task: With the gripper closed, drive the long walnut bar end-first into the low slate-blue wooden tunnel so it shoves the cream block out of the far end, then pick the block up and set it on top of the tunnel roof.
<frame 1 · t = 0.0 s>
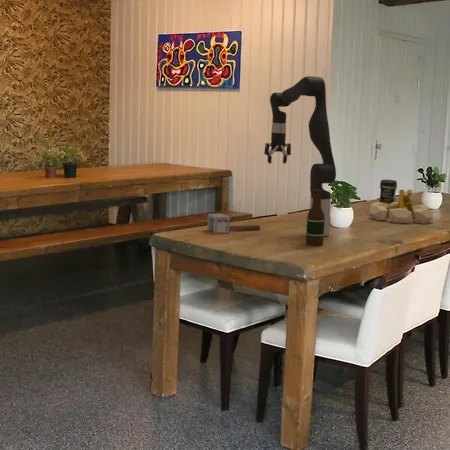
hand: (277, 163, 355), 29 cm above the table, tool pointing down, fingers open, 8 cm apart
campfire: (399, 219, 375), on the table
beer bottle: (314, 244, 296), on the table
coffee jar: (386, 211, 404), on the table
bar: (242, 231, 323), on the table
block: (219, 231, 318), on the table
tunnel: (218, 231, 318), on the table
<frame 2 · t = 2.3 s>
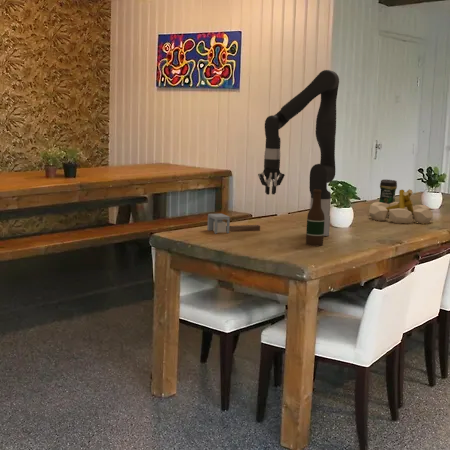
hand: (270, 194, 325), 17 cm above the table, tool pointing down, fingers closed
nothing on the table moved.
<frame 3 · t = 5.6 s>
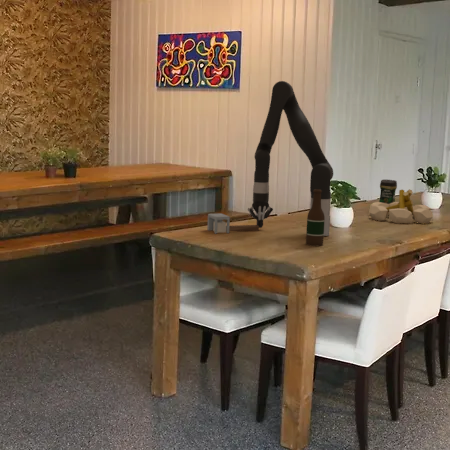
hand: (259, 227, 326), 1 cm above the table, tool pointing down, fingers closed
bar: (240, 231, 322), on the table, touching block, gripper
block: (219, 231, 318), on the table, touching bar
everything else where it was.
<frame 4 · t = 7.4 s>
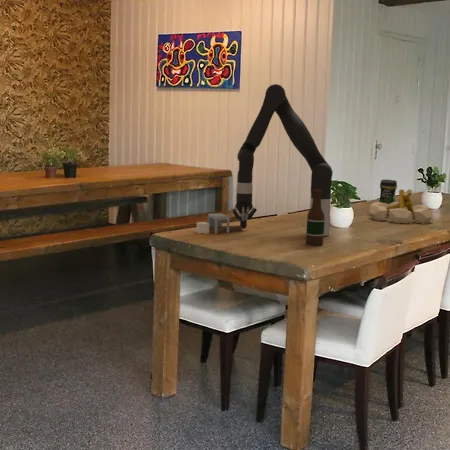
hand: (243, 228, 323), 1 cm above the table, tool pointing down, fingers closed
bar: (224, 232, 318), on the table, touching gripper
block: (202, 232, 314), on the table
everything else where it was.
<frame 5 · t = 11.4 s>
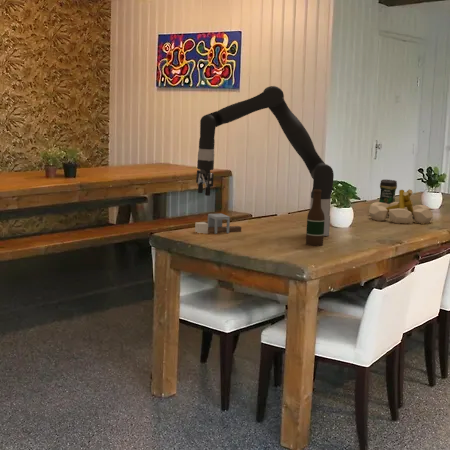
hand: (203, 194, 313), 18 cm above the table, tool pointing down, fingers open, 8 cm apart
bar: (223, 232, 318), on the table
everything else where it was.
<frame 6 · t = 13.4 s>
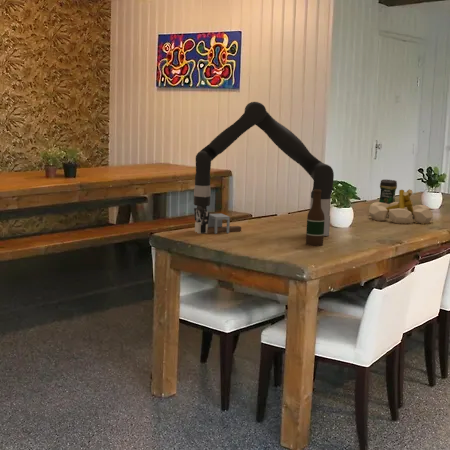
hand: (201, 231, 314), 0 cm above the table, tool pointing down, fingers closed on block, 4 cm apart
block: (201, 232, 314), on the table, touching gripper
everything else where it was.
when the fingers open (10 cm above the table, at t = 17.6 s): block drops 2 cm, resting on tunnel.
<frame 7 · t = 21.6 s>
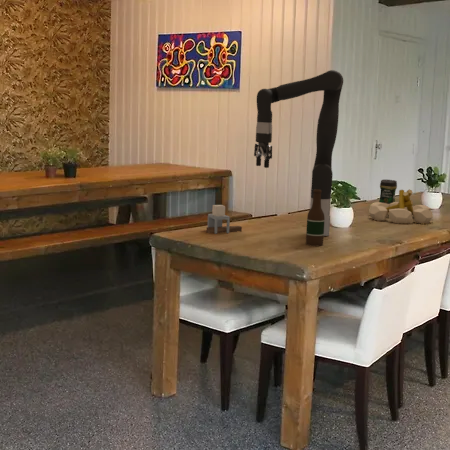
hand: (262, 166, 322), 30 cm above the table, tool pointing down, fingers open, 8 cm apart
block: (218, 215, 316), point 8 cm above the table, touching tunnel
everything else where it was.
at the end: block inside the target area on the tunnel (0.0 cm from its centre), point 7.7 cm above the tunnel's base; the gripper is holding nothing; block tilted 0° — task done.
